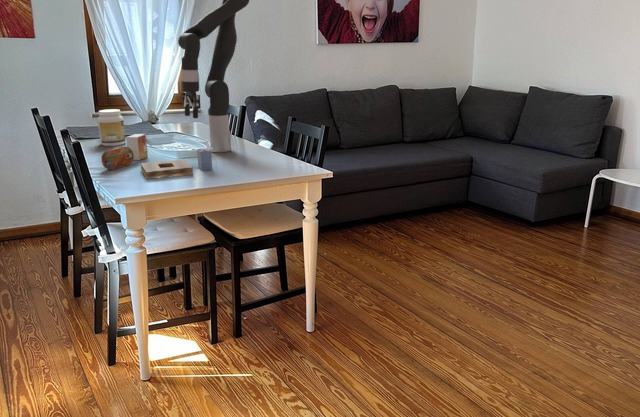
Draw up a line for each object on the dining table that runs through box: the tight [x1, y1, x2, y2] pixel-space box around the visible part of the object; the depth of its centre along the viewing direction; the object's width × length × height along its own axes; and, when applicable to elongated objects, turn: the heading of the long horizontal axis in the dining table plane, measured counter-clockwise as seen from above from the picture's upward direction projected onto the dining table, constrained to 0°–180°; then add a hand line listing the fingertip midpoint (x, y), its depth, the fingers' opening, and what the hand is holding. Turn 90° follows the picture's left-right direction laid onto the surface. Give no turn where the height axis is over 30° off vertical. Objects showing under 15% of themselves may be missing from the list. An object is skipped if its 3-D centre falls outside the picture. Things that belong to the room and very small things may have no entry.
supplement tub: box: [97, 108, 127, 147], centre depth 294 cm, size 12×12×17 cm
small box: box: [125, 133, 148, 161], centre depth 264 cm, size 8×6×10 cm
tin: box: [101, 146, 134, 171], centre depth 249 cm, size 15×3×8 cm, turn 148°
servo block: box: [196, 147, 213, 171], centre depth 246 cm, size 4×9×9 cm, turn 24°
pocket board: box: [140, 158, 194, 180], centre depth 240 cm, size 18×16×3 cm
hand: (191, 117), depth 264 cm, fingers open, 8 cm apart
